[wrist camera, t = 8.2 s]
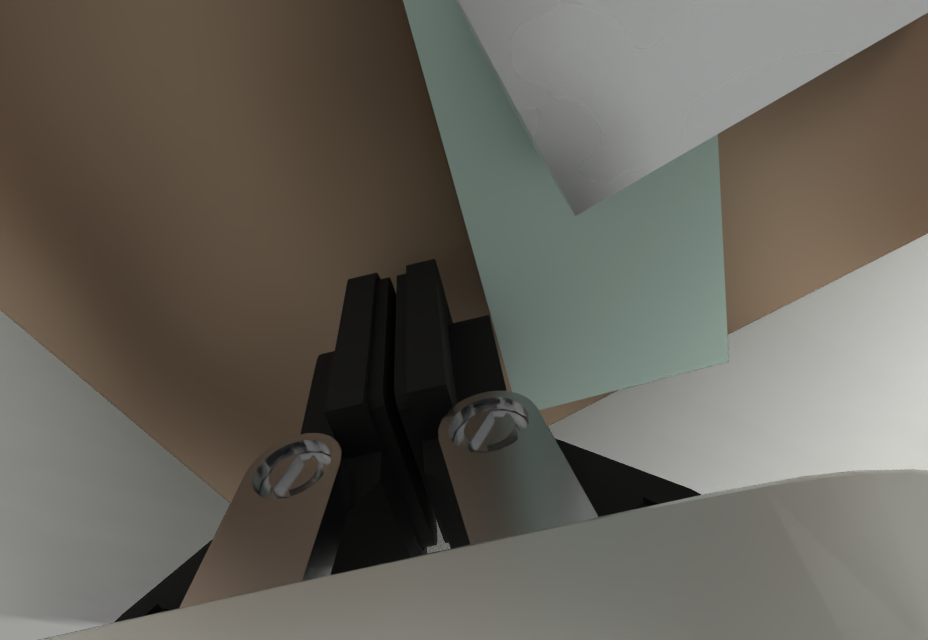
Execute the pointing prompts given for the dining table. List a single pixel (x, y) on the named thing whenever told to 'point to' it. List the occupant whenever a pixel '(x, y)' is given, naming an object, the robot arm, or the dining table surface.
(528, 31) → the keeper
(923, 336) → the dining table surface
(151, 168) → the board
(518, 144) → the link
